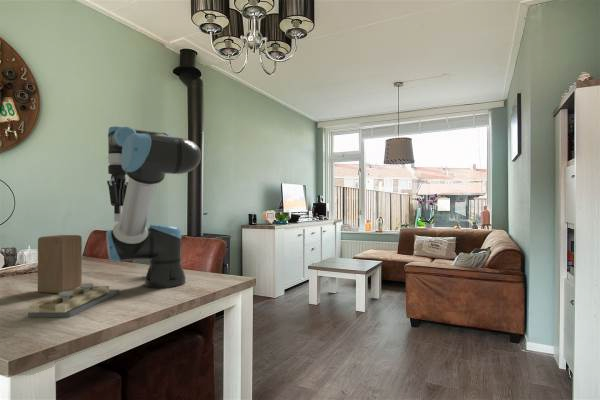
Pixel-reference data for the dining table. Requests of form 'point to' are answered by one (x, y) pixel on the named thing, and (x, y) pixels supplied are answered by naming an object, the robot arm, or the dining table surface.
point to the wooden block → (59, 263)
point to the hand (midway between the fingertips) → (118, 221)
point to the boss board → (78, 309)
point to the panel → (68, 300)
